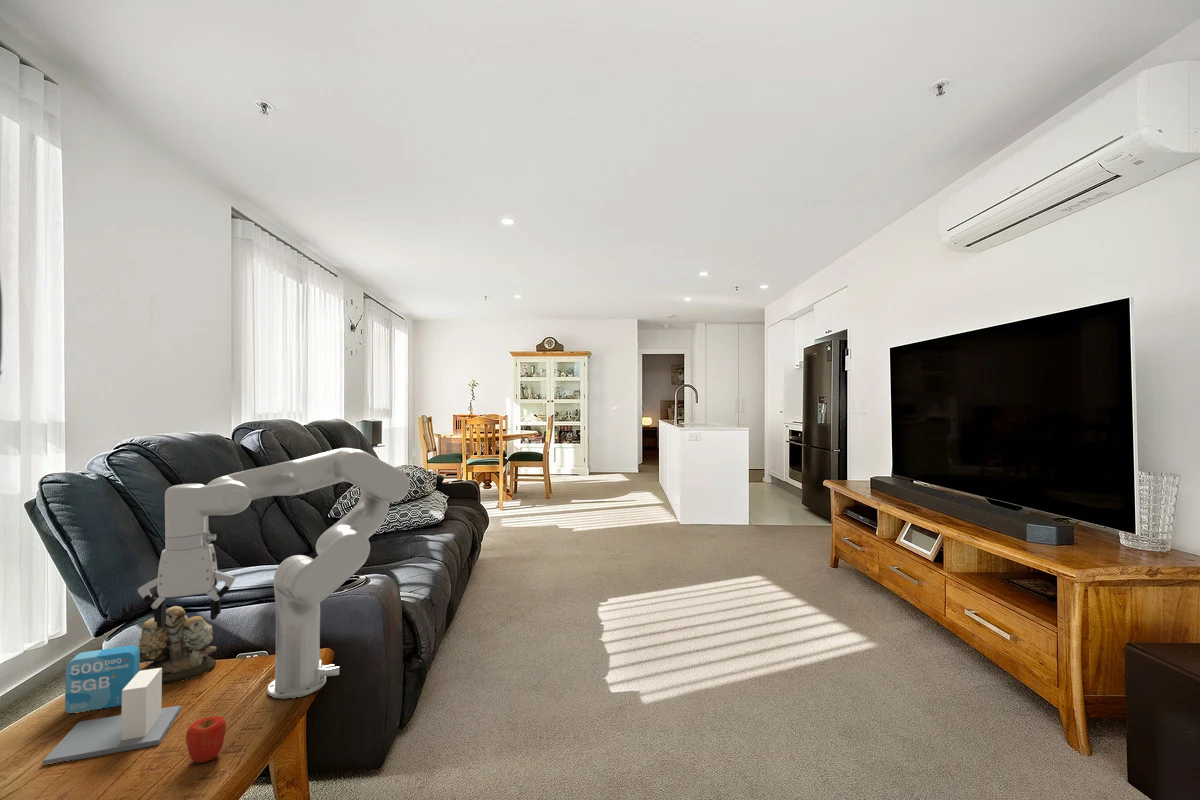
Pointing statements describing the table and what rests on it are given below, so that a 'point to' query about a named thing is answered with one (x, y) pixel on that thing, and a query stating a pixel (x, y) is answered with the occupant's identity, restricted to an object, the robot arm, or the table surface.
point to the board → (108, 737)
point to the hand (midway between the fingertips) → (188, 621)
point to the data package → (99, 678)
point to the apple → (205, 738)
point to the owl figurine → (177, 646)
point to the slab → (141, 703)
